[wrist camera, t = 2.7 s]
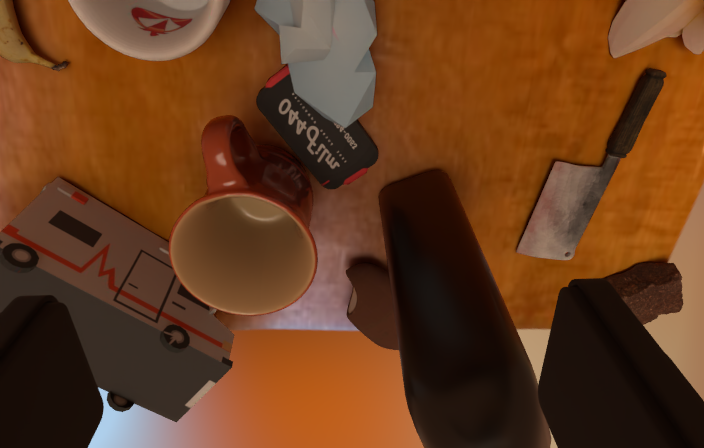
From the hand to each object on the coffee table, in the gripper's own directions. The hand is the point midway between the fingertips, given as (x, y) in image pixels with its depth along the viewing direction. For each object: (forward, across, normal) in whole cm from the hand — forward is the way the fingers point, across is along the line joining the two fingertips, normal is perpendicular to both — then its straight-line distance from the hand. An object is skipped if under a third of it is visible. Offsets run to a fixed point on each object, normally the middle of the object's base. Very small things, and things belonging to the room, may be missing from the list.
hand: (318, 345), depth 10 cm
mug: (+28, +6, +8) cm, 30 cm away
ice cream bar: (+27, -9, +29) cm, 41 cm away
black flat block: (+28, -1, +3) cm, 28 cm away
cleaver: (+27, -16, +8) cm, 33 cm away
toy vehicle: (+18, +17, +17) cm, 30 cm away
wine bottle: (+28, -6, +12) cm, 31 cm away
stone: (+26, -24, +18) cm, 40 cm away
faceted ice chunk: (+28, 0, -2) cm, 28 cm away
